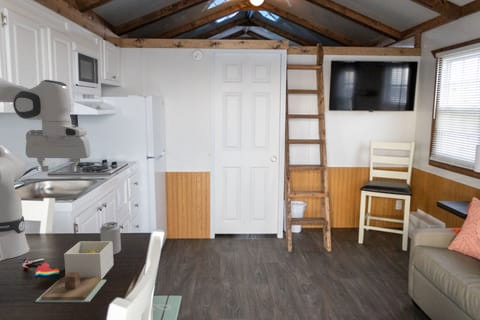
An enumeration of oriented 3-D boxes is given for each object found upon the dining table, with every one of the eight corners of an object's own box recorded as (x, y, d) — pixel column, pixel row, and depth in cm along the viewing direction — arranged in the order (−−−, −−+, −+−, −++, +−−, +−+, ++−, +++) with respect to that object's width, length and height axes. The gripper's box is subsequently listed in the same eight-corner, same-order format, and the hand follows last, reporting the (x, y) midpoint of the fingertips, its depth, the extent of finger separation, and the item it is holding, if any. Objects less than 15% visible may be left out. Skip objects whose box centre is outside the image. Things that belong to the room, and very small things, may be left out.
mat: (35, 302, 109) (35, 301, 109) (58, 280, 123) (58, 279, 123) (89, 302, 109) (89, 300, 109) (106, 280, 123) (106, 279, 123)
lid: (41, 300, 110) (40, 284, 109) (62, 280, 123) (61, 266, 122) (84, 299, 110) (83, 283, 109) (101, 280, 123) (100, 265, 122)
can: (124, 249, 151) (122, 221, 150) (116, 256, 144) (114, 227, 142) (106, 249, 152) (105, 220, 150) (97, 256, 144) (96, 226, 143)
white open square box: (65, 279, 124) (64, 254, 123) (81, 264, 136) (79, 241, 135) (101, 279, 124) (100, 253, 123) (113, 264, 136) (112, 241, 135)
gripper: (20, 130, 118) (22, 172, 120) (83, 131, 118) (85, 173, 120) (31, 129, 124) (33, 169, 126) (91, 130, 125) (92, 170, 126)
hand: (59, 171), depth 123 cm, fingers open, 8 cm apart
